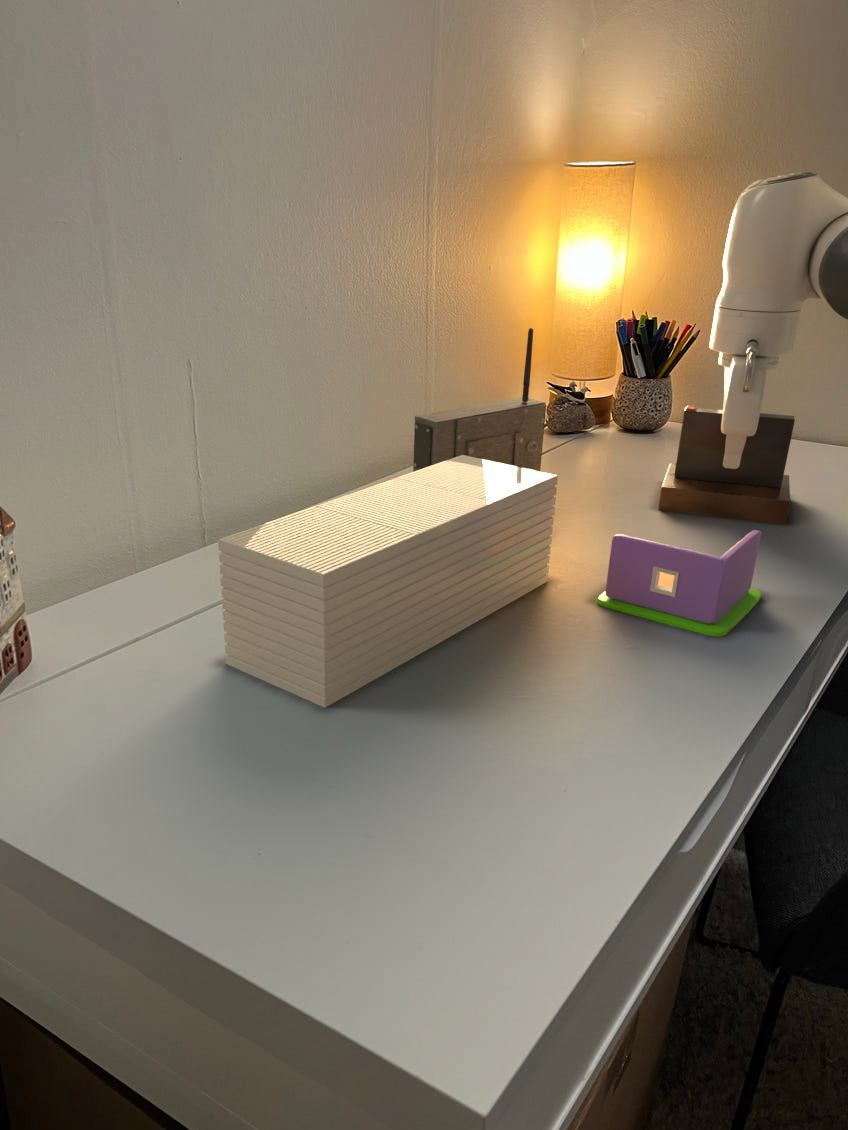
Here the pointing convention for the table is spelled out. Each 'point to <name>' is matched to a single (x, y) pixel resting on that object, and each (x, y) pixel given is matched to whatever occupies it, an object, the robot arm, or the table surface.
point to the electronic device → (485, 430)
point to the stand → (725, 498)
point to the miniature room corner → (682, 583)
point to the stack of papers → (382, 573)
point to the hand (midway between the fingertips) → (731, 456)
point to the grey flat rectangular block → (707, 449)
